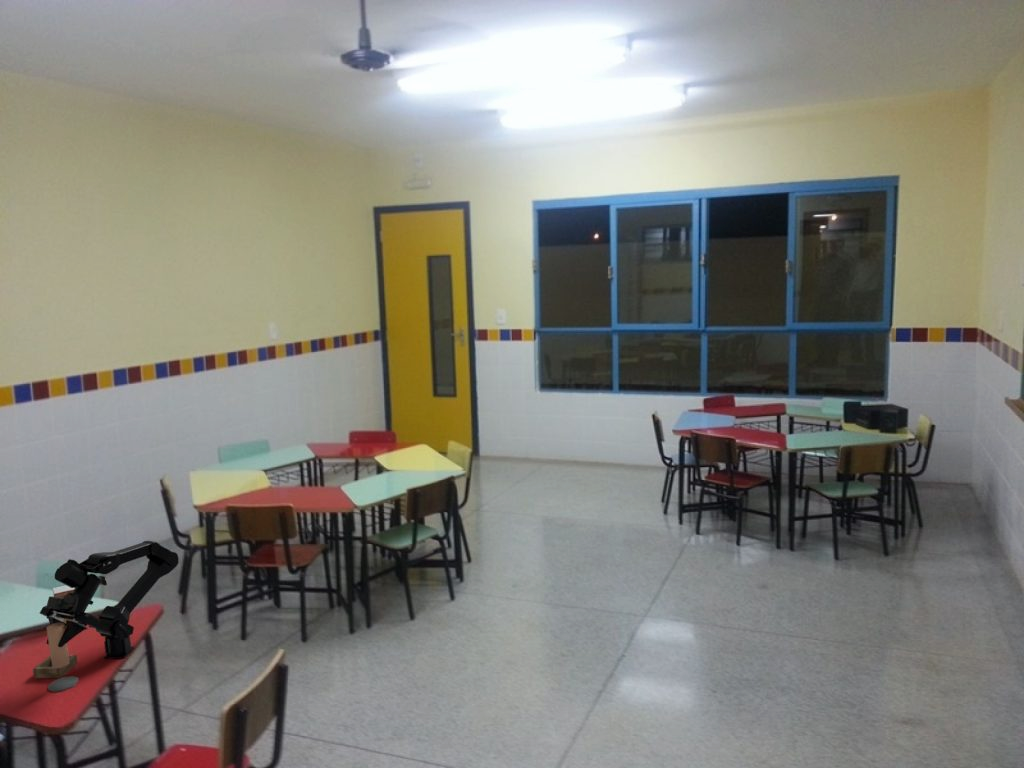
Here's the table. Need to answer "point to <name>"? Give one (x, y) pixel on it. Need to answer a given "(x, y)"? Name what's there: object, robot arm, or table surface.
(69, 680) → the charcoal coaster
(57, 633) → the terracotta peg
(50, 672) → the walnut socket
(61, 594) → the small box
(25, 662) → the table surface
